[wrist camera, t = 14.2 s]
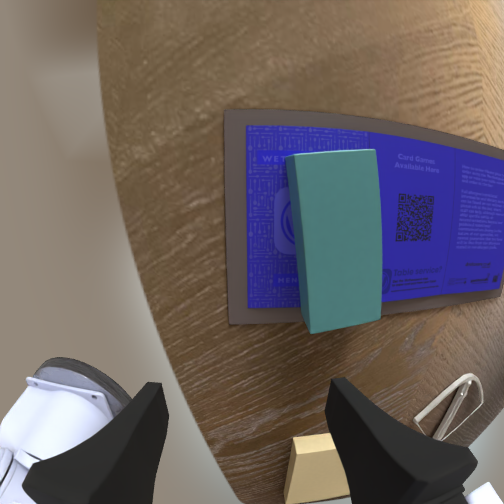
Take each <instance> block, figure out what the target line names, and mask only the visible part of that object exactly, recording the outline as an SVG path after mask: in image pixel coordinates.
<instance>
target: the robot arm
mask: <svg viewBox="0 0 504 504" xmlns="http://www.w3.org/2000/svg"><path fill="white" fill-rule="evenodd" d="M26 382H27V384H28V387H27V389H26V390H25V391H24V392H23V394H22V395H21V396H20V398H19V399H18V400H17V402H16V403H15V404H14V405H13V407H12V408H11V410H10V411H9V412H8V414H7V415H6V416H5V418H4V419H3V421H2V423H1V426H0V447H1V448H0V504H152V502H153V492H154V483H155V478H156V473H157V469H158V465H159V461H160V457H161V453H162V450H163V446H164V443H165V439H166V435H167V428H168V420H169V413H168V409H167V405H166V401H165V397H164V392H163V388H162V383H155V382H147V383H146V384H145V386H144V387H143V388H142V389H141V390H140V391H139V392H138V393H137V394H136V396H135V397H134V398H133V399H132V400H131V401H130V402H129V403H128V404H127V405H126V406H125V407H124V408H123V410H122V411H121V412H120V413H119V414H118V415H116V416H115V417H113V415H112V412H111V410H110V407H109V405H108V402H107V399H106V397H105V395H104V394H103V393H101V392H97V391H91V390H86V389H80V388H75V387H70V386H66V385H61V384H57V383H52V382H48V381H44V380H40V379H36V378H32V377H27V378H26ZM325 415H326V420H327V424H328V428H329V431H330V434H331V437H332V439H333V442H334V445H335V447H336V450H337V452H338V455H339V458H340V460H341V463H342V465H343V468H344V471H345V474H346V478H347V483H348V487H349V491H350V496H351V501H352V504H503V503H502V501H501V500H500V498H499V497H498V495H497V493H496V492H495V490H494V489H493V487H492V486H491V484H490V483H489V482H487V483H485V484H484V485H482V486H481V487H479V488H477V489H476V490H474V491H472V492H471V493H469V494H468V495H467V496H465V497H464V495H463V494H462V492H464V491H465V488H464V487H463V485H462V484H463V483H464V482H465V481H466V479H467V478H468V477H469V476H470V475H471V474H472V472H473V471H474V470H475V468H476V466H477V463H478V461H477V459H476V458H475V457H474V455H473V454H472V452H471V451H470V449H469V448H468V447H463V446H458V445H454V444H449V443H446V442H443V441H439V440H436V439H434V438H431V437H428V436H426V435H424V434H421V433H419V432H417V431H415V430H413V429H411V428H409V427H407V426H406V425H404V424H402V423H400V422H399V421H397V420H396V419H394V418H393V417H391V416H390V415H388V414H387V413H386V412H384V411H383V410H381V409H380V408H379V407H378V406H376V405H375V404H374V403H373V402H371V401H370V400H369V399H368V398H367V397H366V396H365V395H363V394H362V393H361V392H360V391H359V390H358V389H357V388H356V387H355V386H354V385H352V384H351V383H350V382H349V381H348V380H347V379H346V378H345V377H343V378H335V379H331V383H330V388H329V393H328V398H327V403H326V407H325Z"/></svg>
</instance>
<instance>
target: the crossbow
mask: <svg viewBox="0 0 504 504" xmlns="http://www.w3.org/2000/svg"><path fill="white" fill-rule="evenodd" d="M472 380H475V382H476V384H477V388H478V392H479V401H480V402H481V403H482V404H483V402H484V401H483V390H482V386H481V383H480V381H479V379H478V378H477V377H476V376H475V375H473V374H472V373H469V374H464V375H463V376H461V377H460V378H459V379H457V380H456V381H455V382H454V383H452V384H451V385H450V386H449V387H448V388H447V389H445V390H444V391H443V392H442V393H441V394H440V395H439V396H438V397H437V398H436V399H434V400H433V401H432V402H431V403H430V404H429V405H428V406H427V407H426V408H425V409H424V410H423V411H421V412H420V413H419V414H418V415H417V416H416V417H414V419H413V421H414V423H415V424H417V425H418V423H419V421H420V420H421V419H422V418H423V417H425V416H426V415H427V414H428V413H429V412H430V411H431V410H432V409H433V408H434V407H435V406H437V405H438V404H439V403H440V402H441V401H442V400H443V399H444V398H445V397H447V396H448V395H449V394H450V393H451V392H452V391H454V390H455V389H456V388H457V387H458V386H460V387H459V389H458V391H457V393H456V395H455V397H454V399H453V401H452V403H451V405H450V407H449V409H448V411H447V413H446V415H445V417H444V418H443V420H442V422H441V424H440V426H439V427H438V429H437V431H436V433H435V434H434V436H433V438H434V439H436V440H439V441H440V440H441V438H442V437H443V435H444V434H445V432H446V430H447V428H448V426H449V425H450V423H451V421H452V419H453V418H454V416H455V414H456V412H457V410H458V408H459V406H460V404H461V402H462V400H463V398H464V397H466V396H467V394H468V393H467V390H468V388H469V386H470V384H471V381H472ZM482 404H481V405H482ZM481 405H480V406H481ZM480 406H479V407H480ZM479 407H478V408H479ZM478 408H477V409H478ZM477 409H476V410H477ZM476 410H475V411H476ZM475 411H474V412H475ZM474 412H473V413H474ZM466 419H467V418H466ZM466 419H465V420H466ZM465 420H464V421H465ZM464 421H463V422H464ZM463 422H462V423H463ZM462 423H461V424H462ZM461 424H460V425H461ZM460 425H459V426H460ZM418 426H419V425H418ZM459 426H458V427H459ZM458 427H457V428H458ZM419 428H420V426H419ZM420 429H421V428H420ZM421 430H422V429H421ZM454 430H455V429H454ZM454 430H453V431H454ZM453 431H452V432H453ZM422 432H423V431H422ZM452 432H451V433H452ZM423 433H424V432H423ZM451 433H450V434H451ZM450 434H449V435H450ZM424 435H425V434H424ZM447 436H448V435H447ZM447 436H446V437H447ZM446 437H445V438H446ZM445 438H444V439H445ZM444 439H443V440H444Z"/></svg>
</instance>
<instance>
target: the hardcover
mask: <svg viewBox="0 0 504 504" xmlns="http://www.w3.org/2000/svg"><path fill="white" fill-rule="evenodd" d="M348 494H350V491H349V487H348V483H347V478H346V474H345V471H344V468H343V465H342V463H341V460H340V458H339V455H338V452H337V450H336V447H335V445H334V442H333V439H332V437H331V434H330V433H327V434H320V435H312V436H304V437H294V438H293V442H292V448H291V454H290V460H289V465H288V471H287V476H286V482H285V487H284V497H285V504H295V503H303V502H310V501H316V500H322V499H328V498H333V497H338V496H343V495H348Z"/></svg>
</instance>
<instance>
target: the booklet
mask: <svg viewBox="0 0 504 504" xmlns="http://www.w3.org/2000/svg"><path fill="white" fill-rule="evenodd" d="M253 126H254V127H271V128H265V129H258V130H257V131H258V132H271V133H270V134H263V135H257V136H256V137H257V138H275V139H268V140H262V141H256V142H255V143H256V144H274V145H267V146H261V147H255V148H254V149H255V150H273V151H266V152H260V153H254V154H253V155H254V156H272V157H266V158H260V159H254V160H253V161H254V162H271V163H265V164H259V165H253V166H252V167H253V168H271V169H265V170H259V171H253V172H252V173H253V174H270V175H264V176H259V177H253V178H252V179H253V180H270V181H264V182H258V183H257V185H258V186H269V187H264V188H258V189H257V190H258V191H263V192H269V193H263V194H258V195H257V196H258V197H267V198H269V199H263V200H258V201H257V202H258V203H273V204H268V205H263V206H257V207H256V208H257V209H273V210H268V211H262V212H257V213H256V214H257V215H272V216H267V217H261V218H256V219H255V220H256V221H271V222H266V223H260V224H255V225H254V226H255V227H270V228H265V229H259V230H254V231H253V232H254V233H269V234H263V235H258V236H253V237H252V238H253V239H267V240H262V241H257V242H256V243H257V244H271V245H265V246H260V247H255V248H254V249H255V250H269V251H263V252H258V253H253V254H252V255H253V256H266V257H261V258H256V259H255V260H256V261H269V262H264V263H258V264H253V265H252V266H253V267H266V268H261V269H255V270H254V271H255V272H268V273H263V274H257V275H256V276H257V277H269V278H264V279H259V280H253V281H252V282H253V283H265V284H260V285H255V286H254V287H255V288H266V289H261V290H255V291H254V292H255V293H266V294H261V295H256V296H255V297H256V298H266V299H261V300H256V301H255V302H256V303H266V304H261V305H255V306H254V307H255V308H276V309H291V308H301V303H300V291H299V279H298V268H297V258H296V247H295V238H294V228H293V219H292V210H291V201H290V193H289V185H288V177H287V169H286V161H285V157H287V156H290V155H293V154H301V153H312V152H325V151H340V150H360V149H375V150H376V157H377V167H378V177H379V189H380V203H381V223H382V298H381V303H389V302H397V301H405V300H413V299H420V298H428V297H435V296H442V295H453V294H464V293H474V292H484V291H493V290H499V289H500V288H501V284H502V279H503V275H504V159H501V158H497V157H494V156H490V155H487V154H483V153H479V152H475V151H471V150H467V149H462V148H458V147H454V146H448V145H445V144H441V143H436V142H432V141H427V140H422V139H417V138H412V137H406V136H401V135H395V134H388V133H382V132H375V131H368V130H359V129H349V128H338V127H325V126H309V125H286V126H285V125H284V124H254V125H253Z"/></svg>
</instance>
